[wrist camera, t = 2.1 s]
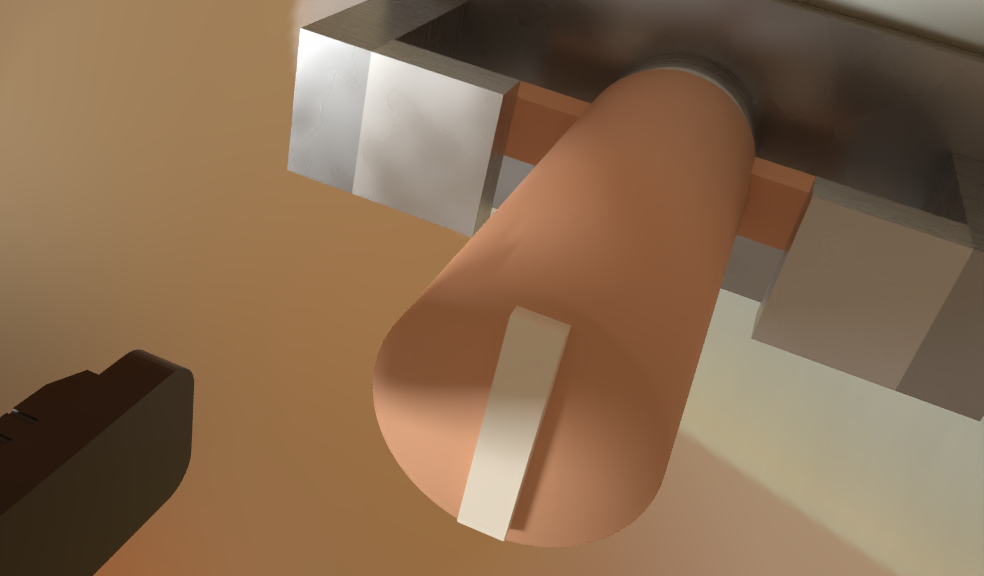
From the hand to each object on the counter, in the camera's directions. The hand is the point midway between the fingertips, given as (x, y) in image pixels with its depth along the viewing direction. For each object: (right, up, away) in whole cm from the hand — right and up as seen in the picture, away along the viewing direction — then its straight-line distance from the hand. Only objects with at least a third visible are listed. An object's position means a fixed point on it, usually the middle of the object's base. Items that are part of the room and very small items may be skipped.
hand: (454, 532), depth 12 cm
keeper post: (+6, +8, +14) cm, 17 cm away
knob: (+5, +6, +12) cm, 14 cm away
